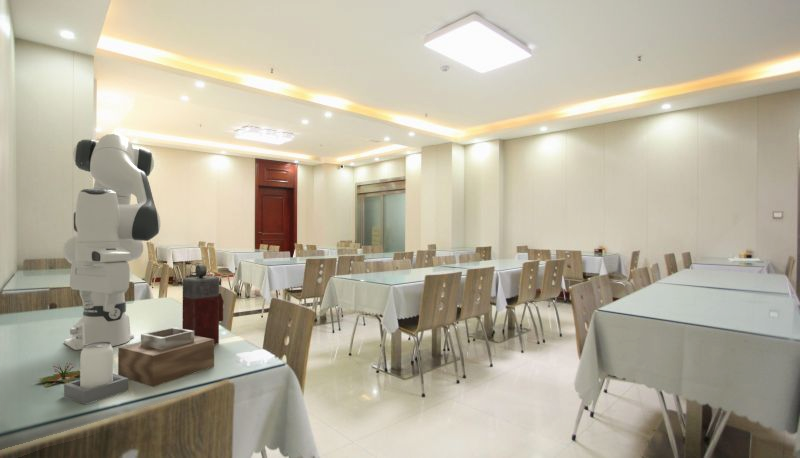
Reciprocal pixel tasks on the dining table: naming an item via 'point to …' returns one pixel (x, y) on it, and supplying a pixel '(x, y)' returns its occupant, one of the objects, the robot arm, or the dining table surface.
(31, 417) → the dining table surface
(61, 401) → the dining table surface
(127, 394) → the dining table surface
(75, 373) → the leafy plant
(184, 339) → the socket pedestal
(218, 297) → the red mill shaker
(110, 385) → the collar
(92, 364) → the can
